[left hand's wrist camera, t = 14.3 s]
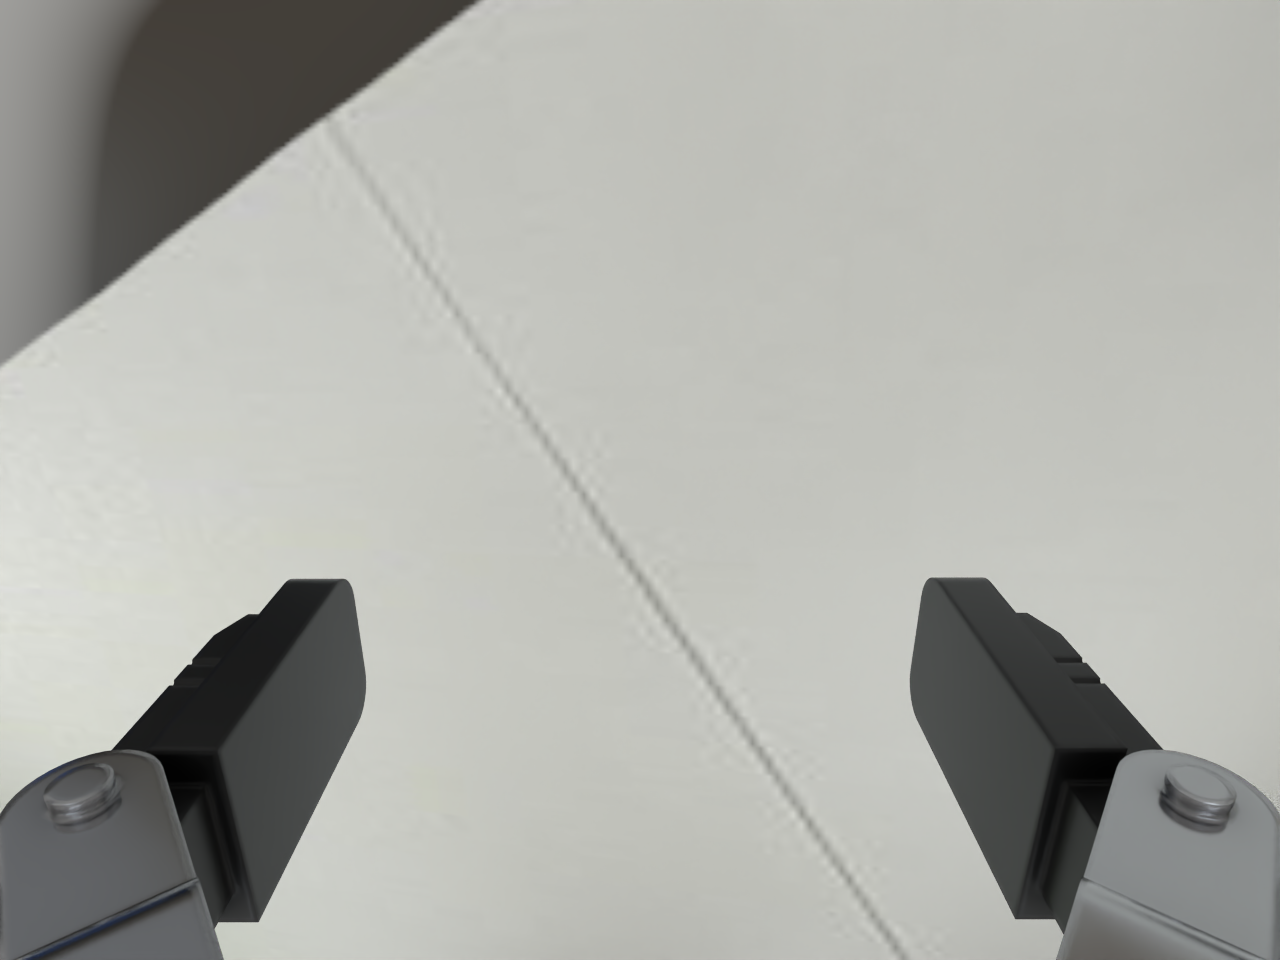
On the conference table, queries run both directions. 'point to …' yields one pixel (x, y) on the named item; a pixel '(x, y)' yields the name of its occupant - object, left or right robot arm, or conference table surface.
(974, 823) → the left robot arm
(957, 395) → the conference table surface
